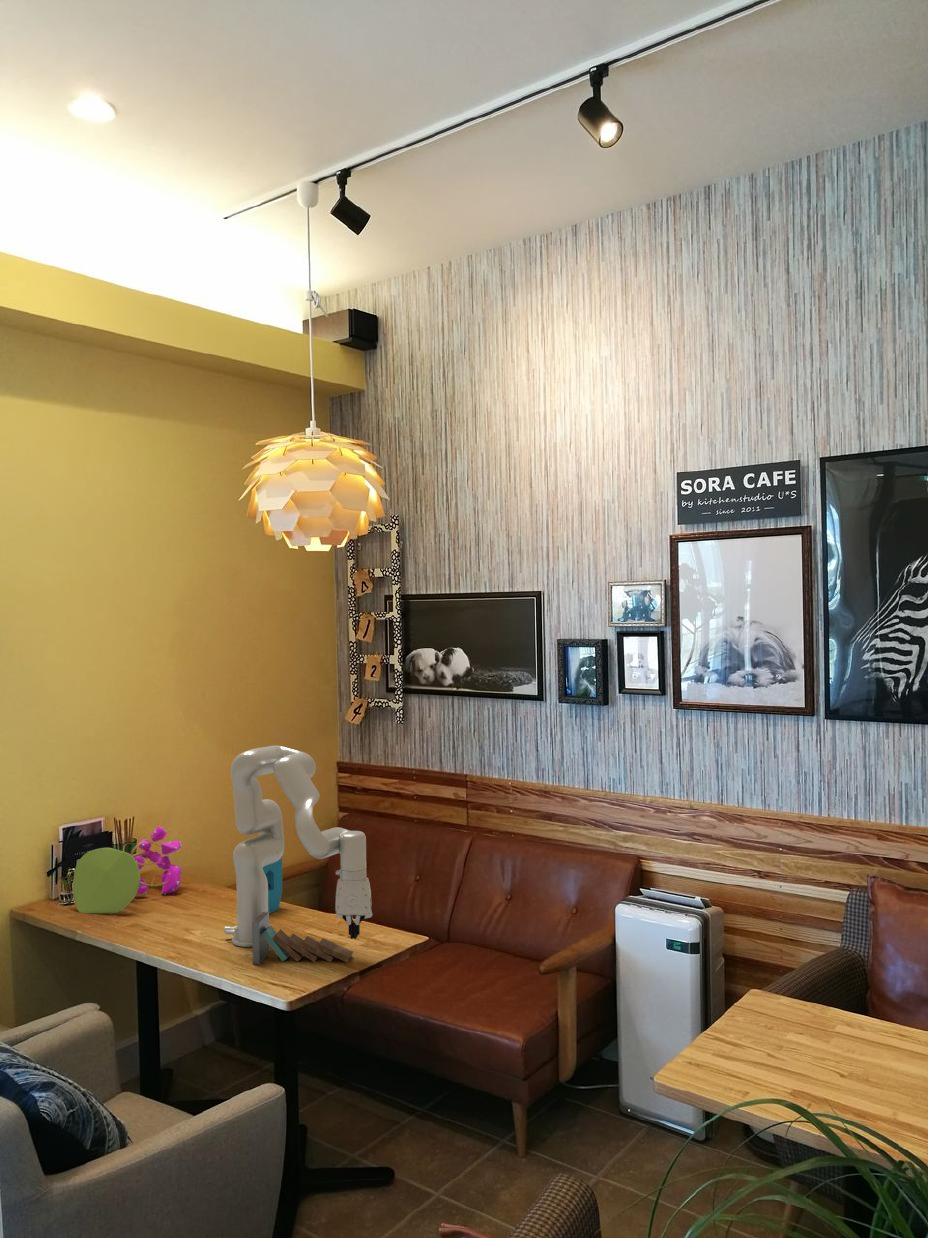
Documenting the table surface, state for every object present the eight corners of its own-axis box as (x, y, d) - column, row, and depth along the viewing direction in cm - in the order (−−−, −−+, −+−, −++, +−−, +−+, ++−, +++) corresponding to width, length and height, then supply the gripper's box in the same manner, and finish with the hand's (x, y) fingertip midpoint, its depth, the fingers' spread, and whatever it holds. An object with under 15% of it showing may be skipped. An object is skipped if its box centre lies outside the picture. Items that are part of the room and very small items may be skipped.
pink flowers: (79, 821, 333) (143, 816, 366) (55, 901, 331) (121, 889, 364) (147, 849, 323) (206, 842, 355) (122, 932, 321) (184, 916, 354)
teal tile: (291, 952, 282) (271, 925, 283) (286, 958, 277) (266, 930, 278) (287, 955, 282) (267, 928, 283) (282, 961, 277) (261, 934, 278)
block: (255, 917, 320) (254, 857, 320) (246, 914, 323) (245, 855, 323) (283, 908, 329) (283, 850, 329) (274, 906, 332) (274, 848, 332)
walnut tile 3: (314, 962, 276) (285, 943, 277) (318, 956, 281) (290, 938, 282) (317, 957, 276) (288, 939, 277) (321, 951, 281) (293, 933, 282)
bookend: (252, 964, 275) (252, 922, 275) (263, 952, 285) (262, 912, 285) (259, 964, 275) (259, 922, 275) (269, 952, 285) (269, 912, 285)
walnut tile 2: (330, 962, 276) (300, 946, 277) (334, 956, 281) (304, 940, 282) (333, 957, 276) (302, 941, 277) (337, 951, 281) (307, 936, 282)
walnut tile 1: (347, 962, 276) (316, 949, 276) (351, 956, 281) (320, 943, 281) (349, 957, 276) (318, 943, 276) (353, 951, 281) (322, 938, 281)
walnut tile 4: (297, 962, 277) (272, 938, 278) (301, 956, 282) (277, 933, 283) (300, 958, 277) (275, 934, 278) (305, 952, 282) (280, 929, 282)
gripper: (325, 877, 275) (326, 941, 275) (376, 878, 274) (377, 942, 274) (331, 871, 282) (331, 932, 282) (380, 871, 281) (381, 933, 281)
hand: (354, 937), depth 278 cm, fingers closed
